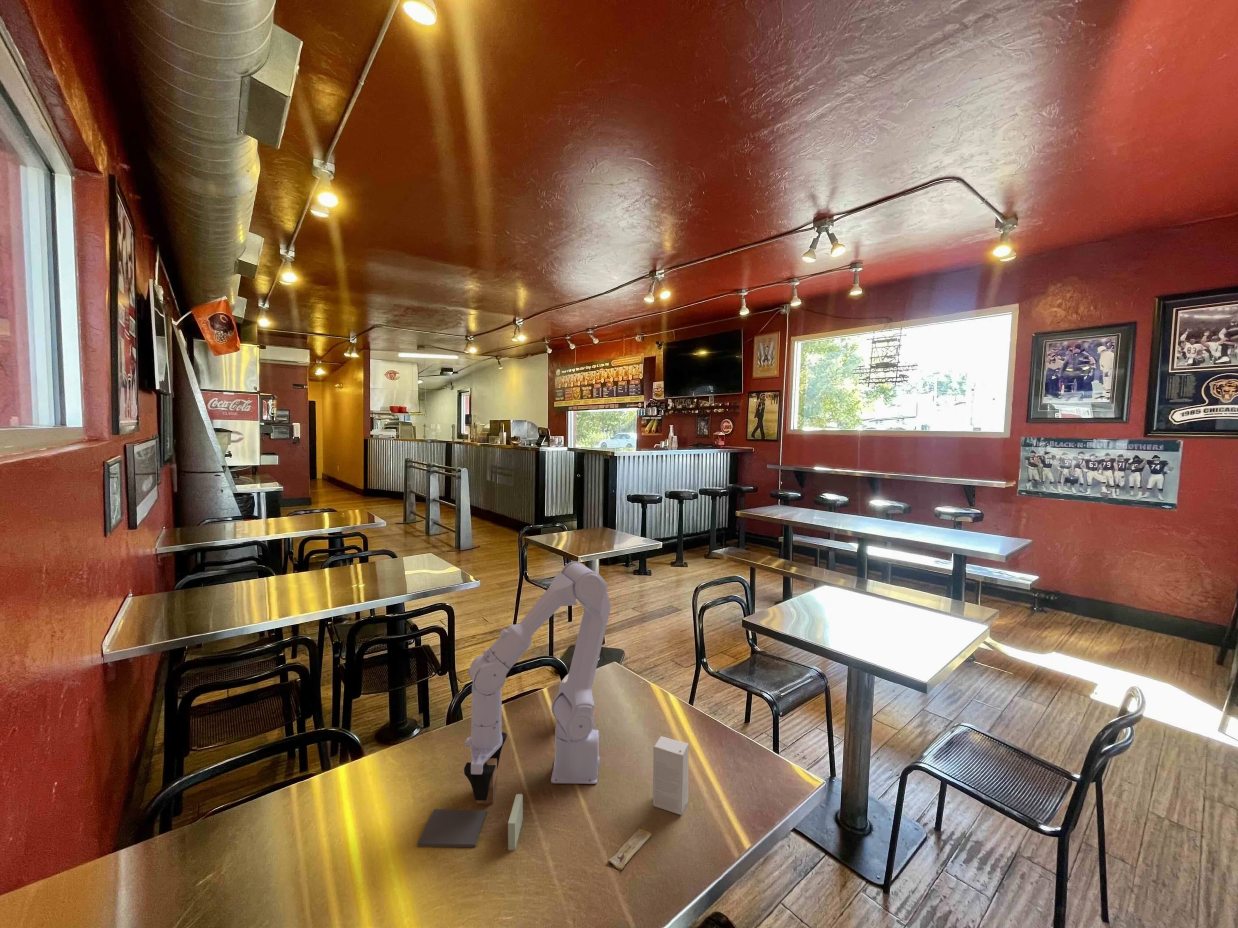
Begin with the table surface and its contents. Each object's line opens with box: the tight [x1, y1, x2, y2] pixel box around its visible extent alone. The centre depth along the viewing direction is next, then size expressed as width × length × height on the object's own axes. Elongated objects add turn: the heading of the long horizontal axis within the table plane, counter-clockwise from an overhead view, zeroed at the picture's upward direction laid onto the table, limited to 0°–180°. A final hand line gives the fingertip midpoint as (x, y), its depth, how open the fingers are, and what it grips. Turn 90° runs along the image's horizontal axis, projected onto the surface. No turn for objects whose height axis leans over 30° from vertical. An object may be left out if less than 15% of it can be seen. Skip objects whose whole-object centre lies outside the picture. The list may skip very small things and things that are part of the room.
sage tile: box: [507, 793, 524, 851], centre depth 92 cm, size 1×7×5 cm, turn 0°
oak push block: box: [476, 758, 498, 805], centre depth 101 cm, size 3×3×7 cm
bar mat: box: [416, 809, 488, 848], centre depth 93 cm, size 10×8×1 cm
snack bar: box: [606, 827, 652, 871], centre depth 89 cm, size 10×2×3 cm
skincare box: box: [652, 735, 690, 816], centre depth 100 cm, size 6×4×12 cm
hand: (486, 785), depth 101 cm, fingers open, 7 cm apart
